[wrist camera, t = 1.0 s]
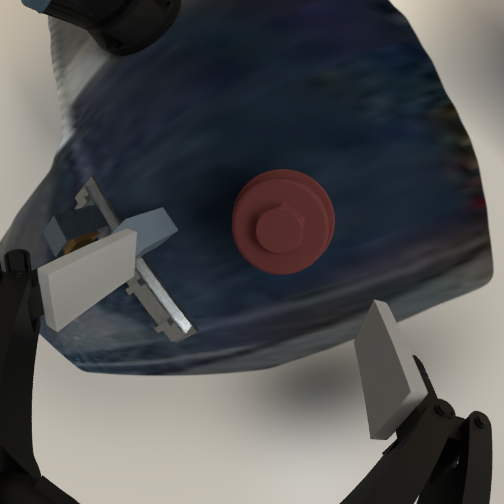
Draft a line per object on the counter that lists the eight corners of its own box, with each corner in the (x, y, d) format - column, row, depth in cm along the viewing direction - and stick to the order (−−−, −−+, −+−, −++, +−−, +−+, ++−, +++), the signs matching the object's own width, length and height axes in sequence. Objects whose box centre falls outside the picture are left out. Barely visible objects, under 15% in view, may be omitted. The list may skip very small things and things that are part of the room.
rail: (79, 194, 39) (28, 206, 28) (94, 175, 37) (41, 183, 27) (177, 340, 43) (145, 383, 32) (199, 329, 41) (168, 375, 31)
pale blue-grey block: (162, 207, 37) (125, 219, 28) (178, 230, 37) (144, 248, 29) (142, 225, 38) (104, 240, 30) (157, 247, 39) (122, 267, 30)
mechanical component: (344, 203, 32) (295, 263, 35) (278, 153, 32) (233, 217, 35) (364, 221, 20) (289, 309, 24) (264, 144, 20) (197, 241, 24)
